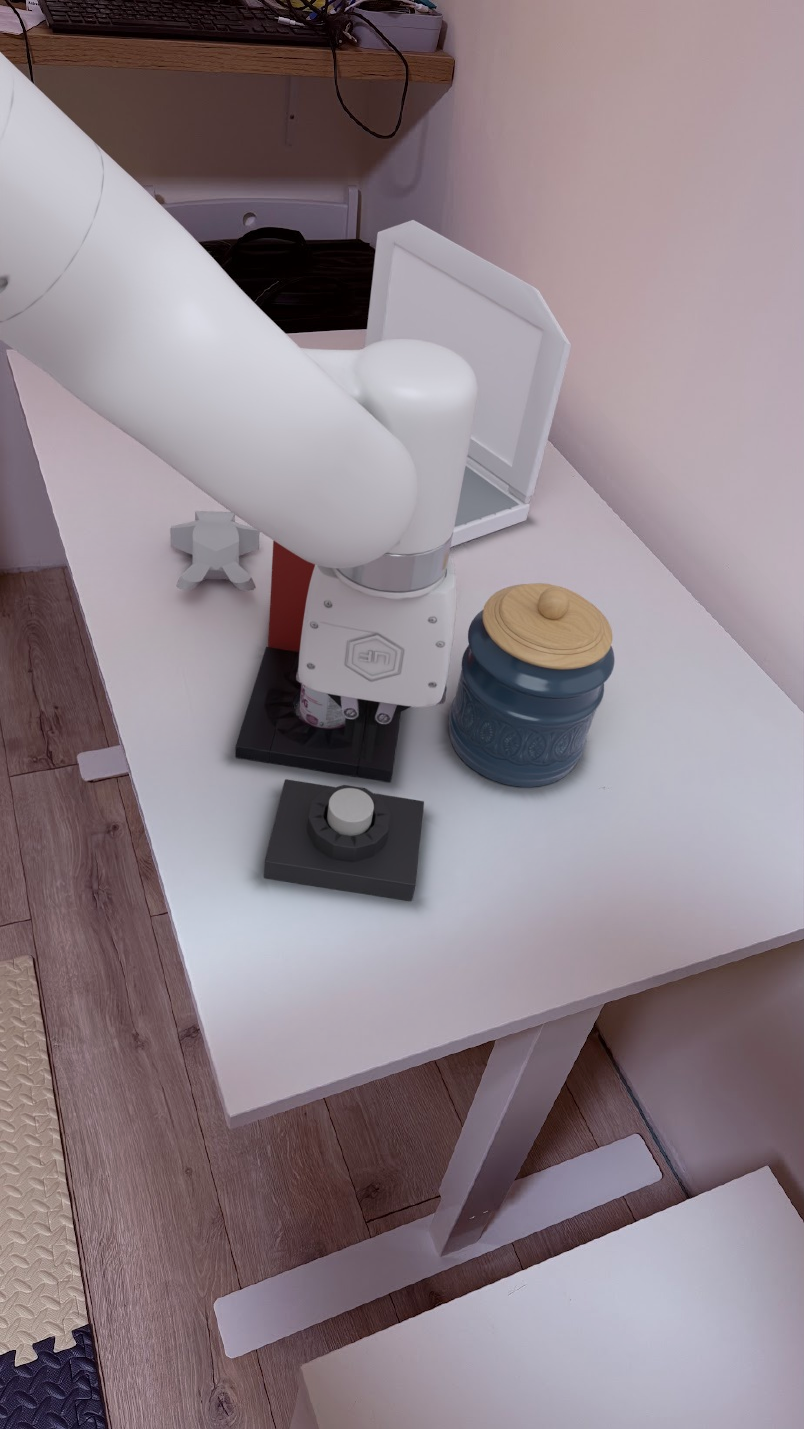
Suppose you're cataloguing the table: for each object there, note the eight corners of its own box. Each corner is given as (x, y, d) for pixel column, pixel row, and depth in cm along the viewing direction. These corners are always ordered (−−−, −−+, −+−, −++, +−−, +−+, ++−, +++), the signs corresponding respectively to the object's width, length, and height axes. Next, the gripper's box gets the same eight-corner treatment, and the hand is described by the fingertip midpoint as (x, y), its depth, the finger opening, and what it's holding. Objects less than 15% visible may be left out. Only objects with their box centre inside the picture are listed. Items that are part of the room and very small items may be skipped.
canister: (607, 766, 95) (666, 619, 83) (495, 808, 90) (540, 657, 78) (529, 680, 103) (571, 534, 91) (420, 713, 97) (451, 562, 85)
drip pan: (235, 757, 90) (235, 746, 89) (265, 657, 100) (266, 646, 99) (390, 782, 90) (392, 771, 89) (405, 680, 100) (407, 669, 99)
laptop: (216, 438, 129) (217, 220, 111) (366, 401, 142) (389, 201, 124) (374, 575, 112) (406, 345, 94) (528, 520, 125) (582, 307, 107)
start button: (324, 832, 80) (325, 817, 79) (330, 798, 83) (332, 784, 82) (368, 839, 81) (371, 825, 79) (373, 805, 83) (376, 791, 82)
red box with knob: (265, 658, 100) (272, 520, 89) (281, 603, 107) (290, 469, 96) (405, 681, 100) (429, 546, 89) (412, 625, 107) (436, 493, 96)
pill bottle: (288, 710, 95) (293, 641, 89) (330, 693, 98) (338, 625, 92) (316, 742, 93) (323, 673, 87) (359, 724, 95) (368, 656, 89)
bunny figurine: (257, 500, 113) (264, 565, 101) (256, 541, 116) (262, 609, 104) (171, 496, 111) (167, 563, 100) (172, 538, 114) (168, 608, 103)
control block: (263, 878, 81) (265, 846, 78) (283, 795, 87) (286, 763, 85) (411, 901, 81) (418, 871, 78) (420, 817, 88) (427, 786, 85)
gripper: (261, 560, 61) (255, 767, 74) (506, 599, 61) (458, 799, 74) (283, 495, 66) (274, 698, 79) (508, 530, 67) (463, 727, 79)
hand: (363, 746), depth 76 cm, fingers closed
